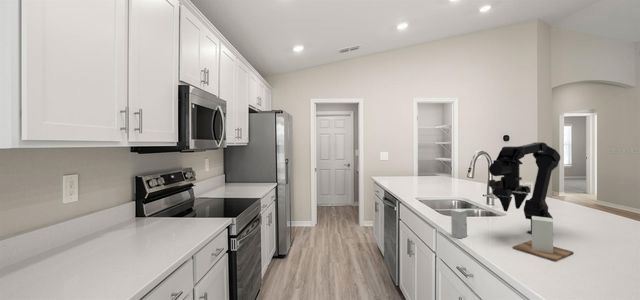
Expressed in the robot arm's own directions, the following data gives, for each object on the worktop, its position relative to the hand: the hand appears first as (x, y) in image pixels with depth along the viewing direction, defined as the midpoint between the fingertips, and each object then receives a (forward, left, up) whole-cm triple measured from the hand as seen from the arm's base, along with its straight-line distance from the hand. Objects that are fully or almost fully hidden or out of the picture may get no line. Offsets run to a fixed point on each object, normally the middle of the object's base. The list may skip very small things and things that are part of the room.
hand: (511, 210), depth 118 cm
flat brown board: (+4, +13, -13) cm, 19 cm away
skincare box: (+16, -14, -13) cm, 25 cm away
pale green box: (+4, +13, -12) cm, 18 cm away
